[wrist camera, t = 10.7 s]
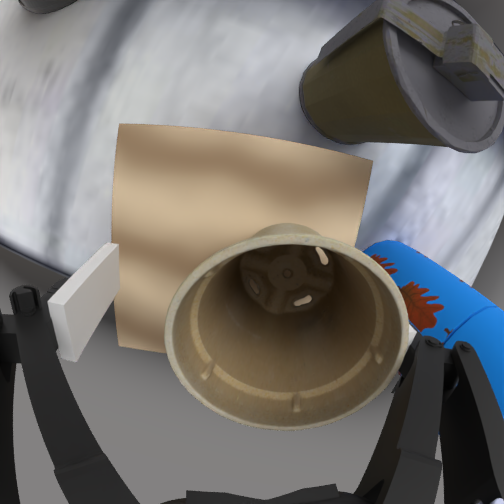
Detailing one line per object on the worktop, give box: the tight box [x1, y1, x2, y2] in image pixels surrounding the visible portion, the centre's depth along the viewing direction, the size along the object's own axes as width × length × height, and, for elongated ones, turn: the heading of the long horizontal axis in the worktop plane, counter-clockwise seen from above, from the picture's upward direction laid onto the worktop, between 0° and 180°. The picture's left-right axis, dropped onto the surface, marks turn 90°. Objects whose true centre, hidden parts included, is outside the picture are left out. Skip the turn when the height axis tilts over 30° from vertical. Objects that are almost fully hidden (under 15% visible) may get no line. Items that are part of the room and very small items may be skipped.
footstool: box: [112, 124, 373, 353], centre depth 24 cm, size 16×16×12 cm
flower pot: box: [164, 223, 409, 431], centre depth 14 cm, size 9×9×9 cm
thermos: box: [363, 240, 504, 419], centre depth 22 cm, size 11×11×25 cm
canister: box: [299, 0, 504, 153], centre depth 17 cm, size 11×10×20 cm
